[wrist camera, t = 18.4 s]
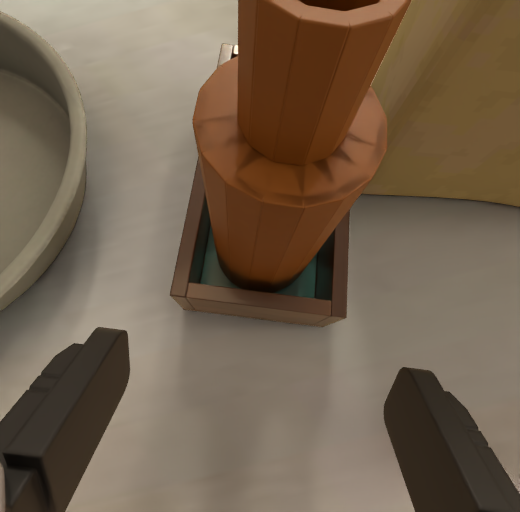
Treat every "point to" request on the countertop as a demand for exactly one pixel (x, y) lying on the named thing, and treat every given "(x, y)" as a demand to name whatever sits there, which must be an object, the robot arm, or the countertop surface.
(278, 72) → the bottle
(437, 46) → the cheese
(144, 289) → the countertop surface
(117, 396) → the robot arm
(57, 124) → the cake pan
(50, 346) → the countertop surface
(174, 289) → the holder
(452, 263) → the countertop surface
